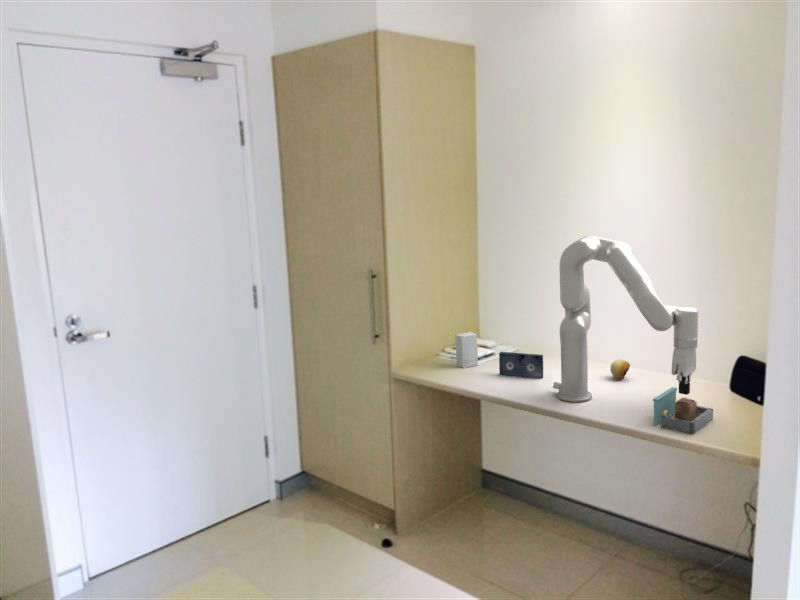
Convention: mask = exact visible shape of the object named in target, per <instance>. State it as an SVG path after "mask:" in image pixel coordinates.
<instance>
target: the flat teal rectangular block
mask: <svg viewBox="0 0 800 600" xmlns="http://www.w3.org/2000/svg"><path fill="white" fill-rule="evenodd" d="M677 391H678V387H673V386H672V387H671V388H668V389H666V390H665V391H664V392H662V393H660V394H659V395H657V396H655V397H654V398H652V401H653V426H658V425H659V424H661V416H663V410H667V411H668V413H667V416H668V417H672V416H673V415H675V402H677Z"/></svg>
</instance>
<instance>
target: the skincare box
mask: <svg viewBox="0 0 800 600" xmlns="http://www.w3.org/2000/svg"><path fill="white" fill-rule="evenodd" d="M455 353H456V366H457V365H459V366H461V367H467V368H470V367H471V366H472V367H476V366H479V354H478V334H476V333H474V332H473V331H468V332H467V331H466V332H464V333H458V334H455ZM459 366H458V367H459ZM461 367H460V368H461Z"/></svg>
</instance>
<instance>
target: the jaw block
mask: <svg viewBox="0 0 800 600" xmlns="http://www.w3.org/2000/svg"><path fill="white" fill-rule="evenodd" d="M697 402H698V401H695V399H691V398H688V397H681V398H679V399H678V400H676V402H675V413H674V418H677V419H682V420H686V421H692V420H694V419H695V418H697V417H696V411H697V406H698V403H697Z"/></svg>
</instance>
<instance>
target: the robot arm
mask: <svg viewBox="0 0 800 600" xmlns="http://www.w3.org/2000/svg"><path fill="white" fill-rule="evenodd" d="M592 260H593V261H600V262H604V263H607V264H608V266H609V267H610V268H611V270H612V271H613V273H614V274H615V276H616V277H617V278H618V280H619V281H620V282H621V284H622V285H623V287H624V288H625V289H626V291H627V292H628V294H629V296H630V298H631V299H632V301H633V302H634V304H635V305H636V307H637V309H638V311H639V312H640V313H641V314H642V316H643V317H644V319H645V320H646V322H647V323H648V325H650V327H651V328H652V329H654V330H655V331H657V332H666V331H668V330H670V328H671V327H673V347H674V348H673V352H672V359H671V375H672V376H676V378H675V379H676V381H678V394H681V395H687V396H688V395H689V394H690V393H691V379H692V378H691V377H692V375H693V373H695V371H696V369H697V348H698V339H699V338H698V335H699V334H698V332H699V327H698V325H699V310H698V309H697V308H695V307H693V306H673V305H666V304H663V302H662V301H661V299H660V298H659V297H658V294H657V293H656V291H655V289H654V287H653V284H652V281H651V278H650V277H649V275H648V274H647V272H646V271H645V270H644V268H643V267H642V266H641V264H640V263H639V261H638V260H637V258H636V257H635V256H634V254H633V250H632V247H631V246H630V245H629V244H627V243H626V242H623V241H618V240H613V239H608V238H604V237H598V236H593V235H586V236H583V237H581V238H579V239H577V240H575V241H574V242H573V243H571V244H569V245H568V246H567V247H566V248H565V249H564V250H563V251H562V253H561V255H560V259H559V268H558V269H559V300H560V304H561V305H562V307H563V309H564V317H563V319H562V320H561V322H560V325H559V341H560V371H561V372H560V374H561V375H560V377H561V379H560V381H561V382H558V381H554V382H553V386H552V388H553V389H556V390H558V392H557V393H556V397H557V398H558V399H559V400H561V401H565V402H570V403H571V402H572V403H581V402H587V401H590V400H591V399H592V398H593V395H592V393H591V392H590V391H589V390H588V387H589V386H588V380H589V379H588V377H589V376H588V374H589V373H588V367H589V366H588V339H587V338H588V331H589V329H590V328H591V324H592V323H591V322H592V320H591V319H592V317H591V315H592V314H591V313H592V312H591V295H590V290H589V288H588V287H587V286H586V284H585V282H584V281H585V280H584V279H585V275H584V274H585V273H584V266H585V264H586V263H587V262H589V261H592Z"/></svg>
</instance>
